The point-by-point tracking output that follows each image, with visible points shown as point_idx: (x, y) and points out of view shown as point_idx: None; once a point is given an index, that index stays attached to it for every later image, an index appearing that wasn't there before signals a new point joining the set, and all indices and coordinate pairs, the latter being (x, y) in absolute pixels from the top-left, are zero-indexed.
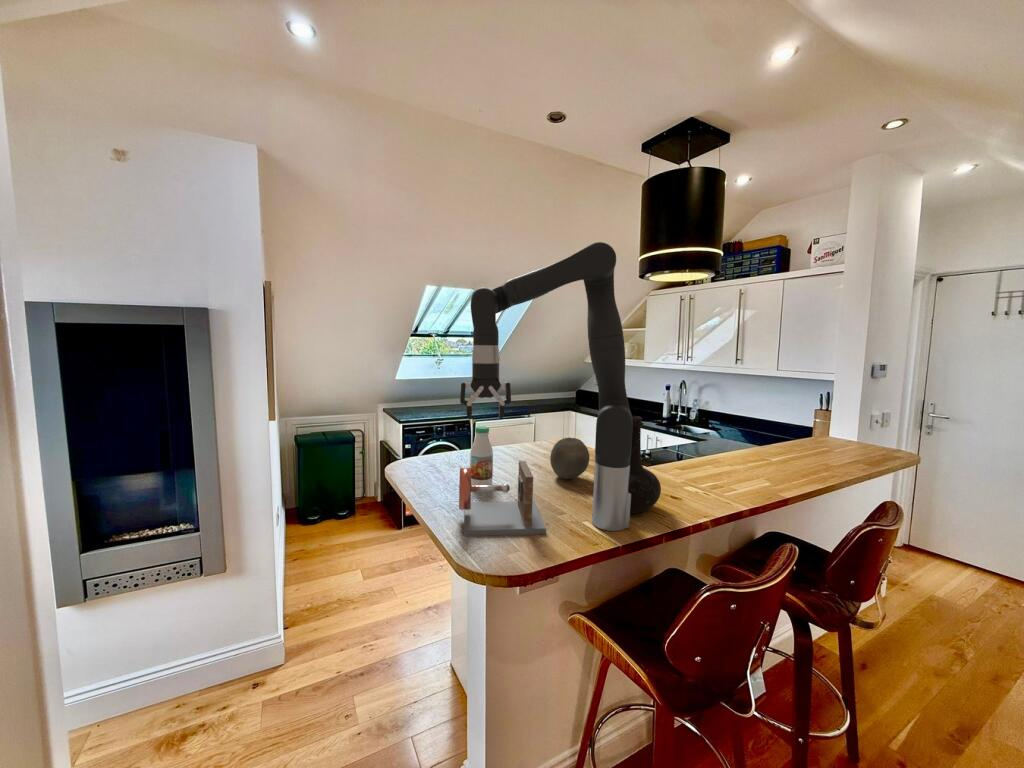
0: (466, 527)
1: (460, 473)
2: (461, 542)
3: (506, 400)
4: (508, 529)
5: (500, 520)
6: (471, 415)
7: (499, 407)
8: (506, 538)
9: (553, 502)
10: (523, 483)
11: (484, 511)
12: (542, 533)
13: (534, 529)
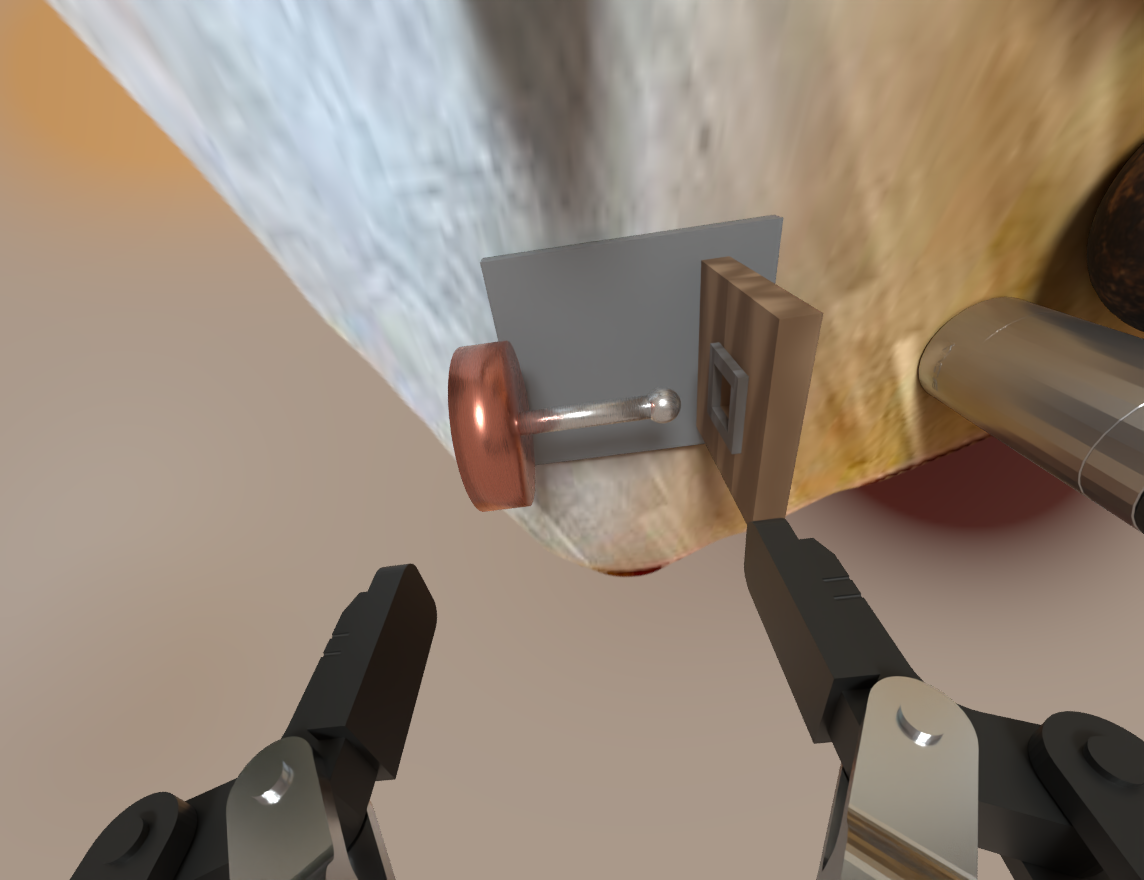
0: None
1: (477, 504)
2: None
3: (1009, 840)
4: (648, 450)
5: None
6: (425, 656)
7: (807, 688)
8: (639, 457)
9: (873, 157)
10: (739, 462)
11: (571, 343)
12: None
13: None
